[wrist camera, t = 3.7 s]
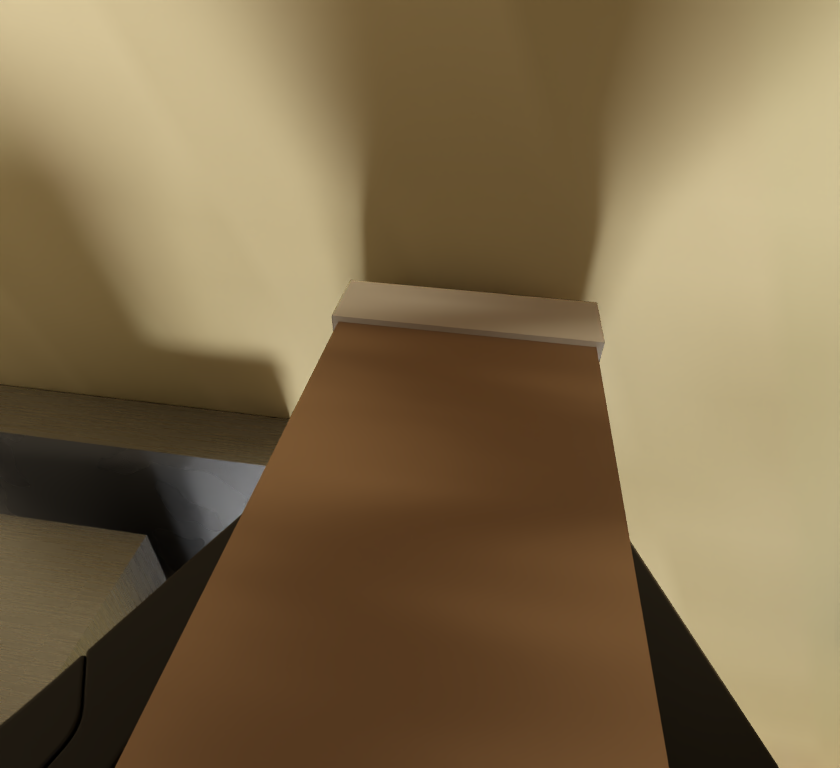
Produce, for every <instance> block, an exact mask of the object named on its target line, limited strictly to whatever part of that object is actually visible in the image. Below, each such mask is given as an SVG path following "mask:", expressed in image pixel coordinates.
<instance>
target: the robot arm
mask: <svg viewBox="0 0 840 768" xmlns="http://www.w3.org/2000/svg"><path fill="white" fill-rule="evenodd" d="M241 515H242V514H241ZM241 515H240V516H238V517H237V518H236V519H235V520H234V521H233V522H232V523H231V524H229V525H228V526H227V527H226V528H225V529H224V530H223V531H222V532H220V533H219V534H218V535H217V536H216V537H215V538H214V539H212V540H211V541H210V542H209V543H208V544H207V545H206V546H205V547H203V548H202V549H201V550H200V551H199V552H198V553H197V554H196V555H194V556H193V557H192V558H191V559H190V560H189V561H188V562H186V563H185V564H184V565H183V566H182V567H181V568H180V569H179V570H177V571H176V572H175V573H174V574H173V575H172V576H171V577H170V578H168V579H167V580H166V581H165V582H164V583H163V584H162V585H160V586H159V587H158V588H157V589H156V590H155V591H154V592H153V593H151V594H150V595H149V596H148V597H147V598H146V599H145V600H144V601H142V602H141V603H140V604H139V605H138V606H137V607H136V608H135V609H133V610H132V611H131V612H130V613H129V614H128V615H127V616H125V617H124V618H123V619H122V620H121V621H120V622H119V623H118V624H116V625H115V626H114V627H113V628H112V629H111V630H110V631H109V632H107V633H106V634H105V635H104V636H103V637H102V638H101V639H99V640H98V641H97V642H96V643H95V644H94V645H93V646H92V647H90V648H89V649H88V650H87V653H86V656H85V655H82V656H80V657H79V658H78V659H77V660H75V661H74V662H73V663H72V664H71V665H70V666H69V667H67V668H66V669H65V670H64V671H63V672H62V673H61V674H60V675H58V676H57V677H56V678H55V679H54V680H53V681H52V682H50V683H49V684H48V685H47V686H46V687H45V688H43V689H42V690H41V691H40V692H39V693H37V694H36V695H35V696H34V697H33V698H32V699H30V700H29V701H28V702H27V703H26V704H25V705H23V706H22V707H21V708H20V709H19V710H17V711H16V712H15V713H14V714H13V715H12V716H10V717H9V718H8V719H7V720H5V721H4V722H3V723H2V724H0V768H115V766H116V764H117V762H118V761H119V759H120V757H121V755H122V753H123V751H124V749H125V747H126V745H127V743H128V741H129V739H130V737H131V735H132V733H133V731H134V729H135V727H136V725H137V723H138V721H139V719H140V717H141V715H142V713H143V711H144V709H145V707H146V705H147V703H148V701H149V699H150V697H151V695H152V693H153V691H154V689H155V687H156V685H157V683H158V681H159V679H160V677H161V675H162V673H163V671H164V669H165V667H166V665H167V663H168V661H169V659H170V657H171V655H172V653H173V651H174V649H175V647H176V645H177V643H178V641H179V639H180V637H181V635H182V633H183V631H184V629H185V627H186V625H187V623H188V621H189V619H190V617H191V615H192V613H193V611H194V609H195V607H196V605H197V603H198V601H199V599H200V597H201V595H202V593H203V591H204V589H205V587H206V585H207V583H208V581H209V579H210V577H211V575H212V573H213V571H214V569H215V567H216V565H217V563H218V561H219V559H220V557H221V555H222V553H223V551H224V549H225V547H226V545H227V543H228V541H229V539H230V537H231V535H232V533H233V531H234V529H235V527H236V525H237V523H238V521H239V519H240V517H241ZM630 545H631V550H632V556H633V562H634V568H635V574H636V579H637V585H638V591H639V597H640V603H641V608H642V614H643V620H644V626H645V632H646V637H647V643H648V649H649V655H650V661H651V666H652V672H653V678H654V684H655V690H656V695H657V701H658V707H659V713H660V719H661V724H662V730H663V736H664V742H665V748H666V753H667V759H668V765H669V768H778V765H777V764H776V762H775V761H774V759H773V758H772V756H771V755H770V753H769V752H768V750H767V749H766V747H765V746H764V744H763V743H762V741H761V739H760V738H759V736H758V735H757V733H756V732H755V730H754V729H753V727H752V726H751V724H750V723H749V721H748V720H747V718H746V717H745V715H744V714H743V712H742V711H741V709H740V708H739V706H738V704H737V703H736V701H735V700H734V698H733V697H732V695H731V694H730V692H729V691H728V689H727V688H726V686H725V685H724V683H723V682H722V680H721V679H720V677H719V676H718V674H717V673H716V671H715V669H714V668H713V666H712V665H711V663H710V662H709V660H708V659H707V657H706V656H705V654H704V653H703V651H702V650H701V648H700V647H699V645H698V644H697V642H696V641H695V639H694V638H693V636H692V634H691V633H690V631H689V630H688V628H687V627H686V625H685V624H684V622H683V621H682V619H681V618H680V616H679V615H678V613H677V612H676V610H675V609H674V607H673V606H672V604H671V602H670V601H669V599H668V598H667V596H666V595H665V593H664V592H663V590H662V589H661V587H660V586H659V584H658V583H657V581H656V580H655V578H654V577H653V575H652V574H651V572H650V571H649V569H648V567H647V566H646V564H645V563H644V561H643V560H642V558H641V557H640V555H639V554H638V552H637V551H636V549H635V548H634V546H633V545H632V543H631V542H630Z"/></svg>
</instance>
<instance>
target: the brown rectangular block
mask: <svg viewBox="0 0 840 768" xmlns="http://www.w3.org/2000/svg"><path fill="white" fill-rule="evenodd" d="M332 323H333V333H332V335H331V337H330V339H329V341H328V343H327V345H326V347H325V349H324V351H323V353H322V355H321V357H320V359H319V361H318V363H317V365H316V367H315V369H314V371H313V373H312V375H311V377H310V379H309V381H308V383H307V385H306V387H305V389H304V391H303V393H302V395H301V397H300V399H299V401H298V403H297V405H296V407H295V409H294V411H293V413H292V415H291V417H290V419H289V421H288V423H287V425H286V427H285V429H284V431H283V433H282V435H281V437H280V439H279V441H278V443H277V445H276V447H275V449H274V451H273V453H272V455H271V457H270V459H269V461H268V463H267V465H266V467H265V469H264V471H263V473H262V475H261V477H260V479H259V481H258V483H257V485H256V487H255V489H254V491H253V493H252V495H251V497H250V499H249V501H248V503H247V505H246V507H245V509H244V511H243V513H242V515H241V517H240V519H239V521H238V523H237V525H236V527H235V529H234V531H233V533H232V535H231V537H230V539H229V541H228V543H227V545H226V547H225V549H224V551H223V553H222V555H221V557H220V559H219V561H218V563H217V565H216V567H215V569H214V571H213V573H212V575H211V577H210V579H209V581H208V583H207V585H206V587H205V589H204V591H203V593H202V595H201V597H200V599H199V601H198V603H197V605H196V607H195V609H194V611H193V613H192V615H191V617H190V619H189V621H188V623H187V625H186V627H185V629H184V631H183V633H182V635H181V637H180V639H179V641H178V643H177V645H176V647H175V649H174V651H173V653H172V655H171V657H170V659H169V661H168V663H167V665H166V667H165V669H164V671H163V673H162V675H161V677H160V679H159V681H158V683H157V685H156V687H155V689H154V691H153V693H152V695H151V697H150V699H149V701H148V703H147V705H146V707H145V709H144V711H143V713H142V715H141V717H140V719H139V721H138V723H137V725H136V727H135V729H134V731H133V733H132V735H131V737H130V739H129V741H128V743H127V745H126V747H125V749H124V751H123V753H122V755H121V757H120V759H119V761H118V762H117V764H116V766H115V768H669V765H668V759H667V753H666V748H665V742H664V736H663V730H662V724H661V719H660V713H659V707H658V701H657V695H656V690H655V684H654V678H653V672H652V666H651V661H650V655H649V649H648V643H647V637H646V632H645V626H644V620H643V614H642V608H641V603H640V597H639V591H638V585H637V579H636V574H635V568H634V562H633V556H632V550H631V545H630V539H629V533H628V527H627V521H626V516H625V510H624V504H623V498H622V492H621V487H620V481H619V475H618V469H617V463H616V457H615V452H614V446H613V440H612V434H611V428H610V423H609V417H608V411H607V405H606V399H605V394H604V388H603V382H602V376H601V370H600V365H599V362H600V358H601V354H602V351H603V347H604V343H605V341H604V336H603V331H602V326H601V321H600V315H599V310H598V305H597V303H596V302H585V301H574V300H563V299H552V298H541V297H530V296H519V295H508V294H498V293H487V292H476V291H465V290H454V289H443V288H432V287H421V286H410V285H399V284H388V283H377V282H366V281H356V280H350V282H349V284H348V286H347V288H346V289H345V291H344V293H343V295H342V297H341V299H340V301H339V303H338V305H337V307H336V308H335V310H334V312H333V314H332Z"/></svg>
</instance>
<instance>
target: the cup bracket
mask: <svg viewBox="0 0 840 768" xmlns="http://www.w3.org/2000/svg"><path fill="white" fill-rule="evenodd" d="M288 421H289V419H281V418H273V417H265V416H256V415H248V414H239V413H231V412H223V411H214V410H206V409H197V408H189V407H181V406H172V405H164V404H155V403H147V402H139V401H130V400H122V399H113V398H105V397H96V396H88V395H80V394H71V393H63V392H54V391H46V390H38V389H29V388H21V387H12V386H4V385H0V724H2V723H3V722H4V721H5V720H7V719H8V718H9V717H10V716H12V715H13V714H14V713H15V712H16V711H17V710H19V709H20V708H21V707H22V706H23V705H25V704H26V703H27V702H28V701H29V700H30V699H32V698H33V697H34V696H35V695H36V694H37V693H39V692H40V691H41V690H42V689H43V688H45V687H46V686H47V685H48V684H49V683H50V682H52V681H53V680H54V679H55V678H56V677H57V676H58V675H60V674H61V673H62V672H63V671H64V670H65V669H66V668H67V667H69V666H70V665H71V664H72V663H73V662H74V661H75V660H77V659H78V658H79V657H80V656H82V655H85V656H86V653H87V650H88V649H89V648H90V647H92V646H93V645H94V644H95V643H96V642H97V641H98V640H99V639H101V638H102V637H103V636H104V635H105V634H106V633H107V632H109V631H110V630H111V629H112V628H113V627H114V626H115V625H116V624H118V623H119V622H120V621H121V620H122V619H123V618H124V617H125V616H127V615H128V614H129V613H130V612H131V611H132V610H133V609H135V608H136V607H137V606H138V605H139V604H140V603H141V602H142V601H144V600H145V599H146V598H147V597H148V596H149V595H150V594H151V593H153V592H154V591H155V590H156V589H157V588H158V587H159V586H160V585H162V584H163V583H164V582H165V581H166V580H167V579H168V578H170V577H171V576H172V575H173V574H174V573H175V572H176V571H177V570H179V569H180V568H181V567H182V566H183V565H184V564H185V563H186V562H188V561H189V560H190V559H191V558H192V557H193V556H194V555H196V554H197V553H198V552H199V551H200V550H201V549H202V548H203V547H205V546H206V545H207V544H208V543H209V542H210V541H211V540H212V539H214V538H215V537H216V536H217V535H218V534H219V533H220V532H222V531H223V530H224V529H225V528H226V527H227V526H228V525H229V524H231V523H232V522H233V521H234V520H235V519H236V518H237V517H238V516H240V515H241V514H242V513H243V511H244V509H245V507H246V505H247V503H248V501H249V499H250V497H251V495H252V493H253V491H254V489H255V487H256V485H257V483H258V481H259V479H260V477H261V475H262V473H263V471H264V469H265V467H266V465H267V463H268V461H269V459H270V457H271V455H272V453H273V451H274V449H275V447H276V445H277V443H278V441H279V439H280V437H281V435H282V433H283V431H284V429H285V427H286V425H287V423H288Z"/></svg>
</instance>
